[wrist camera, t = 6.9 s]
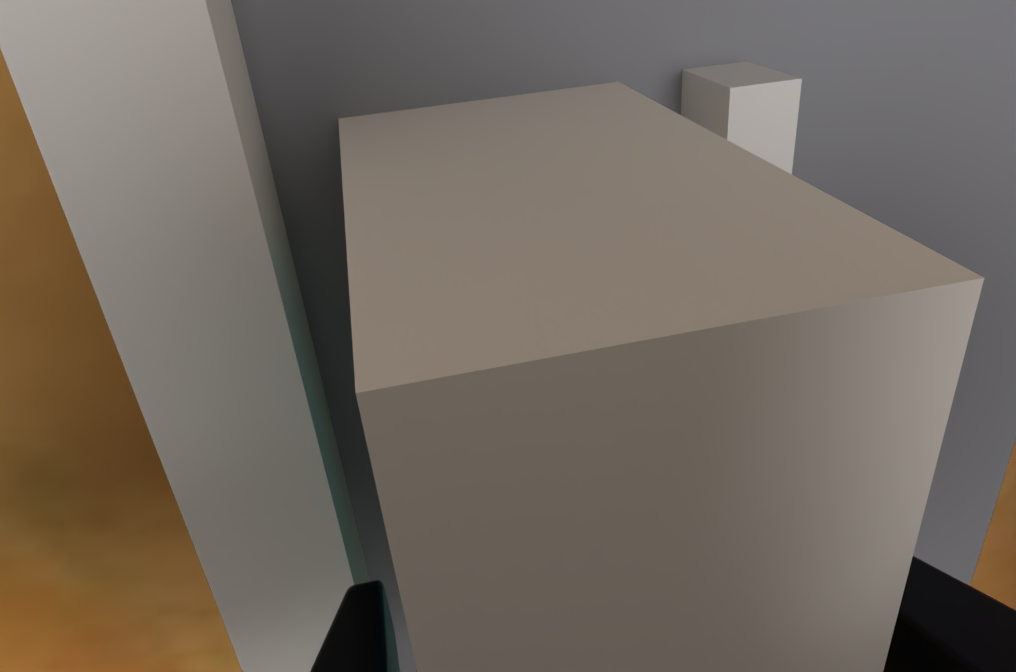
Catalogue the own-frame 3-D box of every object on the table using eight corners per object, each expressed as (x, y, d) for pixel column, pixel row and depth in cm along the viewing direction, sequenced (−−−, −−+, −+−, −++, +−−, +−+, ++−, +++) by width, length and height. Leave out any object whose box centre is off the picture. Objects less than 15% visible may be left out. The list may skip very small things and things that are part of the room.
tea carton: (617, 80, 11) (984, 278, 5) (622, 573, 16) (805, 973, 10) (334, 118, 10) (346, 394, 4) (431, 617, 15) (500, 1070, 9)
